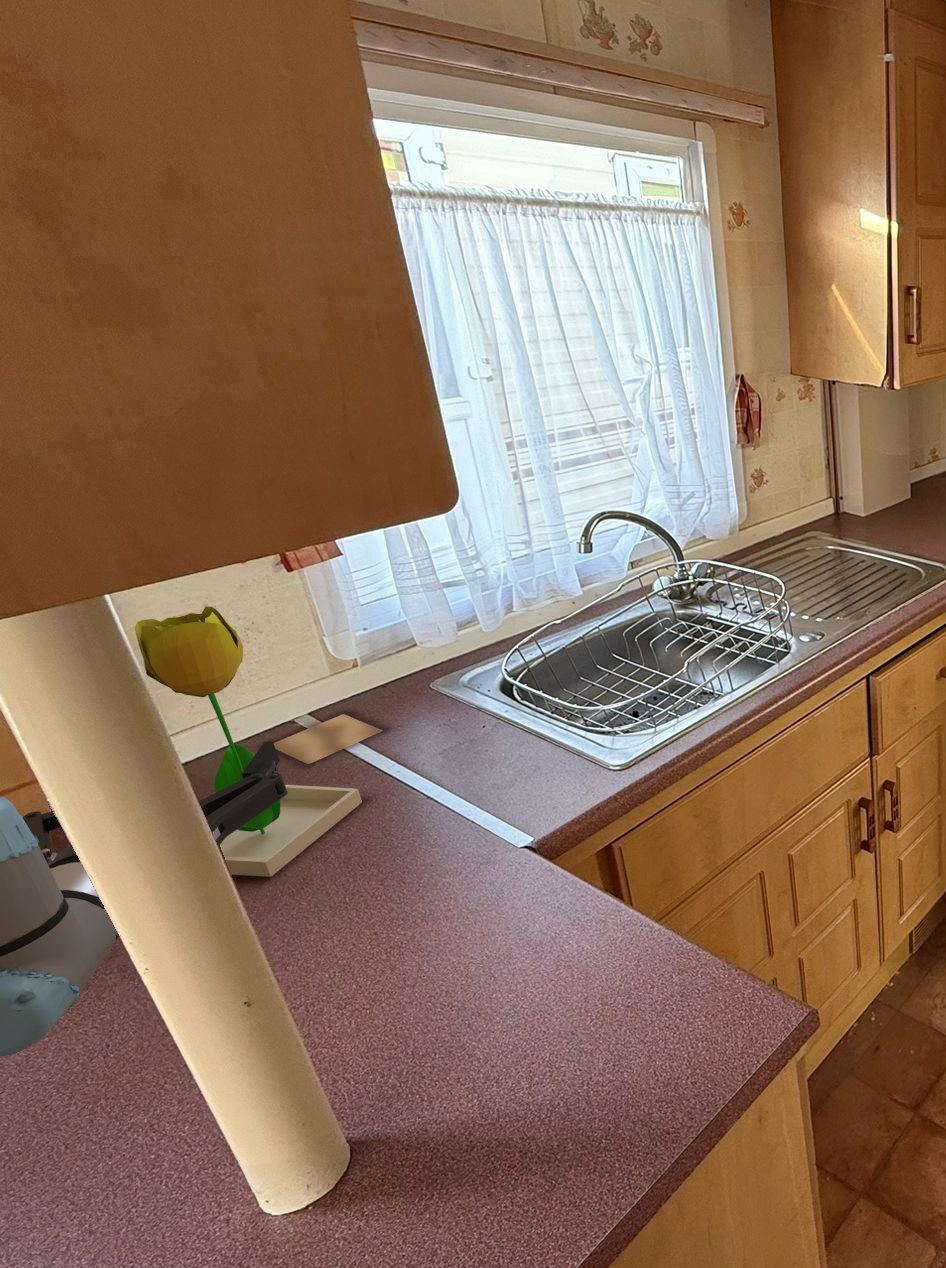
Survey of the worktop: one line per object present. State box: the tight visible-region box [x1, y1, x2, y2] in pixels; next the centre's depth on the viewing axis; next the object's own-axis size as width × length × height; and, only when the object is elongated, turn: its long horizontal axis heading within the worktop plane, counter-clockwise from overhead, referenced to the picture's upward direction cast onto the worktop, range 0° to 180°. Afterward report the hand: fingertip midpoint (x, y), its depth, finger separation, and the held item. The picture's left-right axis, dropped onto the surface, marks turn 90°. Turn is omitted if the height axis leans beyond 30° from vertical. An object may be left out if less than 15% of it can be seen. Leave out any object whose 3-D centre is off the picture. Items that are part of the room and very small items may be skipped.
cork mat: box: [273, 713, 384, 765], centre depth 125 cm, size 10×10×1 cm
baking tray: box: [220, 784, 363, 878], centre depth 106 cm, size 14×14×3 cm
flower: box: [134, 606, 280, 834], centre depth 100 cm, size 9×8×30 cm
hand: (195, 762), depth 94 cm, fingers open, 13 cm apart
